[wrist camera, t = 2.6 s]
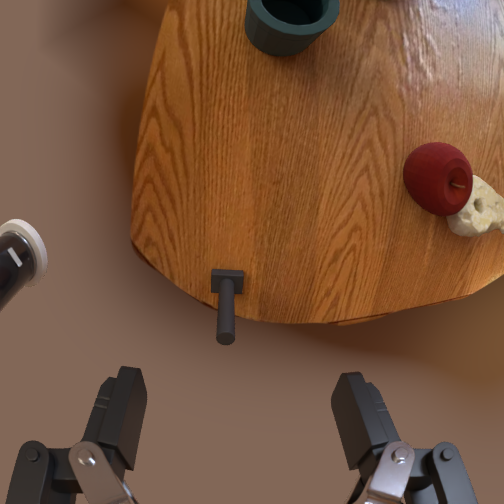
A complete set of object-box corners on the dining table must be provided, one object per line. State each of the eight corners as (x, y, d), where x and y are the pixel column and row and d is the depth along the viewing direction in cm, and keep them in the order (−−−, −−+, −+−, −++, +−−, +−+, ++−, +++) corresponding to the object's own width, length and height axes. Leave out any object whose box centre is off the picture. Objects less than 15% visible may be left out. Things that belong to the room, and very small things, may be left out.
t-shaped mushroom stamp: (211, 286, 43) (205, 347, 31) (212, 268, 41) (204, 327, 30) (241, 288, 43) (245, 349, 31) (243, 270, 42) (247, 329, 30)
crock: (241, 52, 29) (244, 28, 20) (247, -4, 26) (252, -40, 17) (311, 61, 30) (337, 43, 21) (315, 5, 26) (340, -25, 17)
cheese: (412, 200, 41) (464, 278, 36) (434, 175, 34) (493, 264, 29) (457, 168, 43) (501, 233, 39) (476, 146, 36) (525, 217, 32)
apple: (395, 207, 39) (433, 233, 30) (385, 143, 35) (426, 154, 26) (442, 192, 38) (483, 213, 29) (435, 133, 34) (480, 142, 25)
